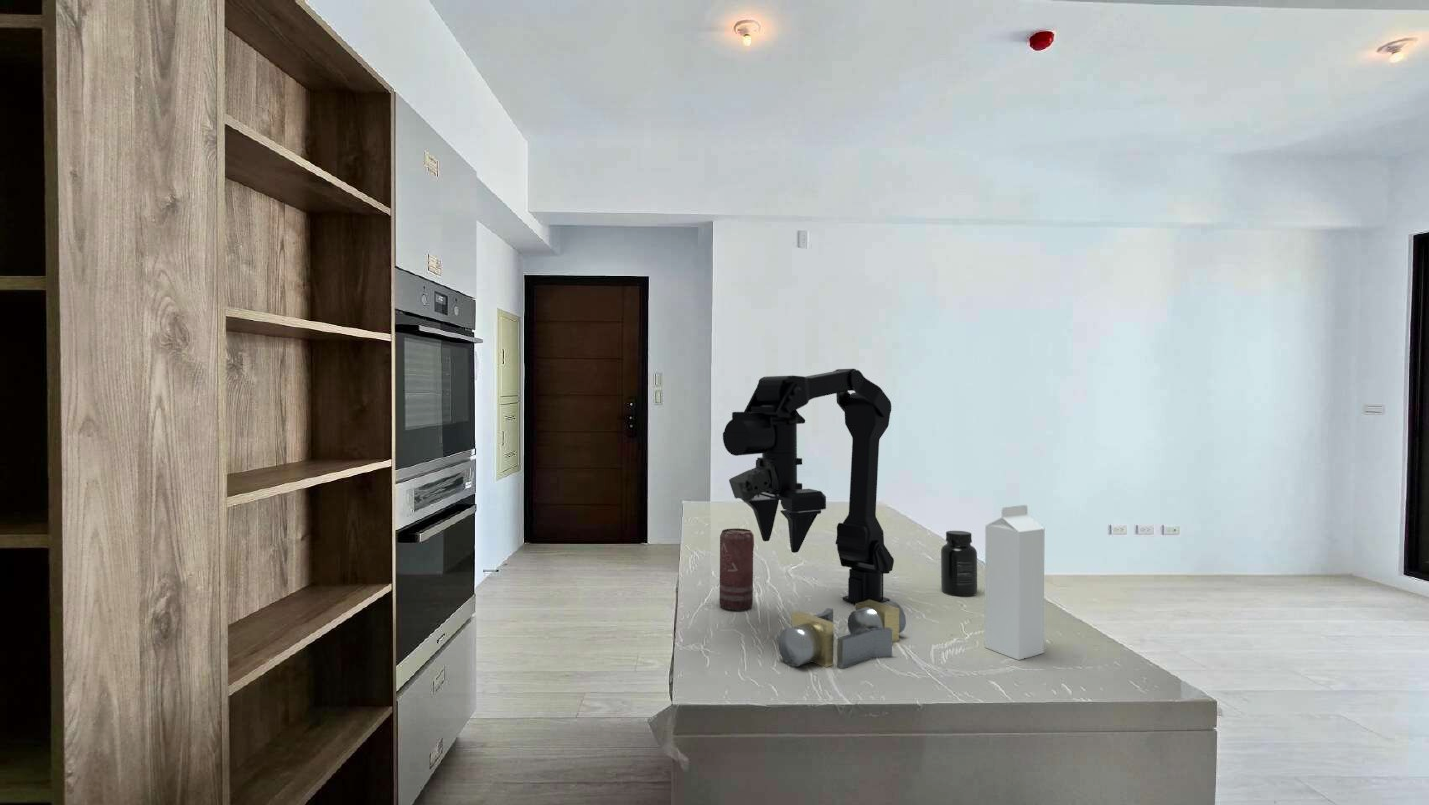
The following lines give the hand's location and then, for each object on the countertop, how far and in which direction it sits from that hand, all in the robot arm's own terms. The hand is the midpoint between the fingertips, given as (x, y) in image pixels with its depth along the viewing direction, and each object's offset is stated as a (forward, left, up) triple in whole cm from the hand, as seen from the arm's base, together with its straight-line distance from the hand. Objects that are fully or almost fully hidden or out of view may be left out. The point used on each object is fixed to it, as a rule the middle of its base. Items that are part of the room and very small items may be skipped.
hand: (779, 546), depth 109 cm
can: (-3, -14, -14) cm, 20 cm away
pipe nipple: (-10, +12, -14) cm, 21 cm away
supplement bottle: (-45, +5, -14) cm, 47 cm away
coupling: (+2, +12, -14) cm, 18 cm away
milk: (-23, +28, -14) cm, 39 cm away
